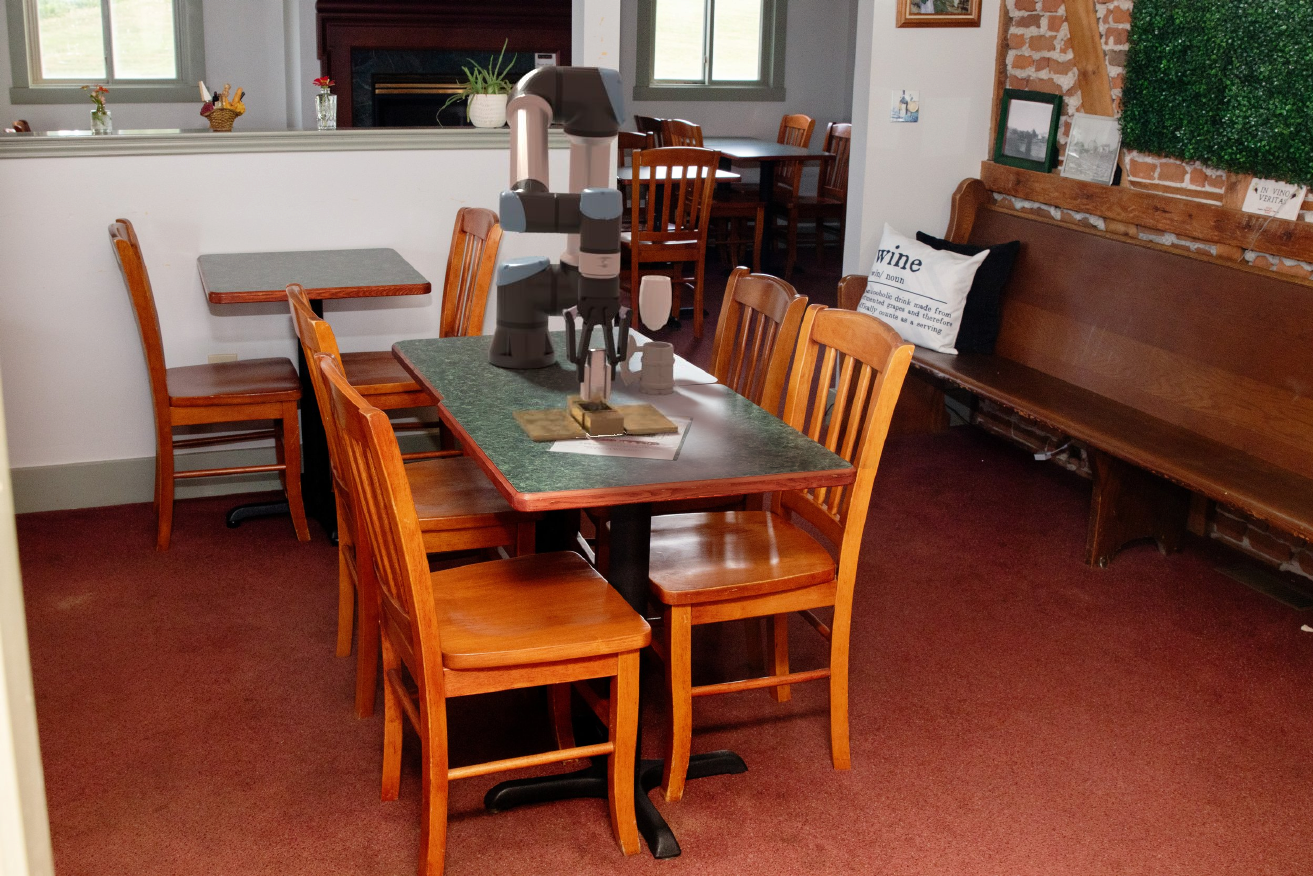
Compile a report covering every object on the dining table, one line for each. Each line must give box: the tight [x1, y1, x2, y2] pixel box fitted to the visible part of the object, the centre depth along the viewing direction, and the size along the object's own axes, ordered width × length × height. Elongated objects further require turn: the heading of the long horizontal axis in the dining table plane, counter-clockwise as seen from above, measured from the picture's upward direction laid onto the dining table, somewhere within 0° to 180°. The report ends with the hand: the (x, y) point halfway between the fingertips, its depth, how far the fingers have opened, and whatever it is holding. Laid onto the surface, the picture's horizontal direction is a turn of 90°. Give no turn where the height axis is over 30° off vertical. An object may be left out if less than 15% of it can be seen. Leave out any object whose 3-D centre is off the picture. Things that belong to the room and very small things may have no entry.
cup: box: [638, 275, 672, 331], centre depth 275 cm, size 7×7×21 cm
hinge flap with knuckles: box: [566, 394, 679, 435], centre depth 236 cm, size 16×17×4 cm
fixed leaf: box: [512, 400, 624, 442], centre depth 232 cm, size 16×17×4 cm
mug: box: [619, 333, 676, 396], centre depth 258 cm, size 8×12×12 cm, turn 103°
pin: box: [585, 346, 607, 411], centre depth 232 cm, size 4×4×14 cm
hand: (595, 398), depth 233 cm, fingers closed on pin, 4 cm apart
